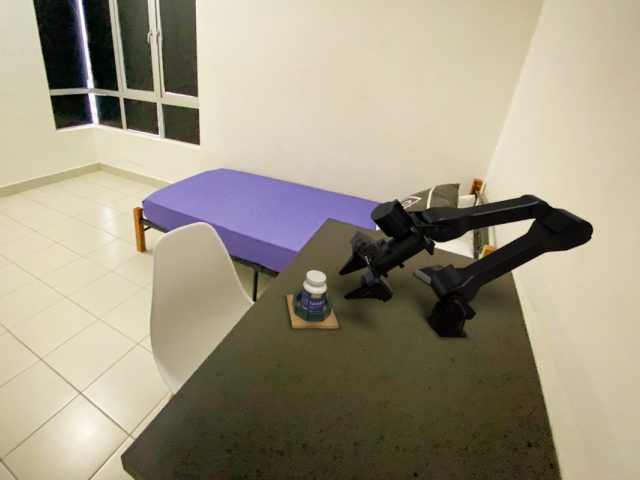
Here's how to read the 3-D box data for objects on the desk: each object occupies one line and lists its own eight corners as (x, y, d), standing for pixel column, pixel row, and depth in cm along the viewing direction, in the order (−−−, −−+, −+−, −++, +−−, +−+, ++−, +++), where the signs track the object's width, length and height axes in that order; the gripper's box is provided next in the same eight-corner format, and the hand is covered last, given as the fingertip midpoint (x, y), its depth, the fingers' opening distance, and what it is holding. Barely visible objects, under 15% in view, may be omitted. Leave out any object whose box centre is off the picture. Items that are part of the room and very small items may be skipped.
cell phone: (456, 278, 100) (457, 274, 99) (429, 285, 96) (430, 281, 95) (438, 267, 105) (439, 263, 105) (412, 274, 101) (413, 270, 101)
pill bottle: (309, 320, 79) (314, 285, 76) (295, 305, 84) (299, 272, 80) (328, 312, 82) (333, 278, 78) (313, 299, 86) (317, 266, 83)
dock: (327, 298, 89) (328, 287, 87) (338, 328, 78) (340, 316, 77) (286, 297, 88) (287, 286, 87) (292, 328, 78) (293, 316, 77)
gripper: (367, 207, 82) (317, 243, 87) (387, 245, 64) (323, 287, 69) (394, 238, 84) (344, 271, 89) (420, 283, 66) (356, 321, 71)
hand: (341, 285), depth 79 cm, fingers open, 9 cm apart
